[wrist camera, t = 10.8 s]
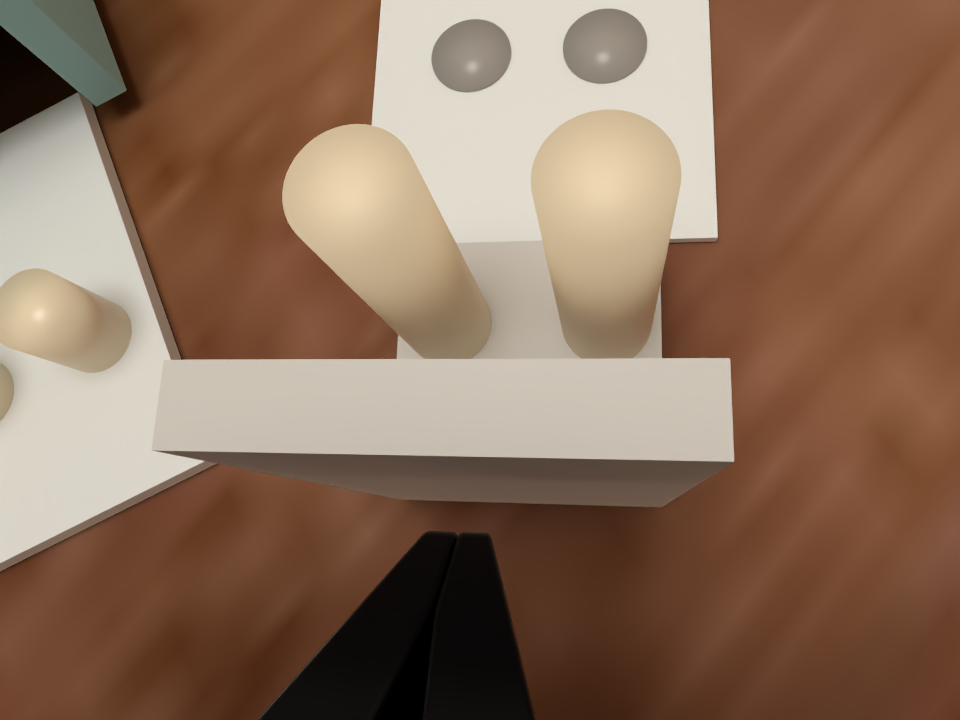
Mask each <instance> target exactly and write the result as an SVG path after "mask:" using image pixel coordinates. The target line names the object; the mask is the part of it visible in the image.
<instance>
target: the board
mask: <svg viewBox="0 0 960 720" xmlns="http://www.w3.org/2000/svg"><path fill="white" fill-rule="evenodd" d="M164 360H181V357H180V354H179V351H178V348H177V345H176V343H175V340H174V337H173V334H172V331H171V328H170V325H169V323H168V320H167V317H166V314H165V311H164V308H163V305H162V303H161V300H160V297H159V294H158V291H157V288H156V285H155V283H154V280H153V277H152V274H151V271H150V268H149V266H148V263H147V260H146V257H145V254H144V251H143V248H142V246H141V243H140V240H139V237H138V234H137V231H136V228H135V226H134V223H133V220H132V217H131V214H130V211H129V208H128V206H127V203H126V200H125V197H124V194H123V191H122V189H121V186H120V183H119V180H118V177H117V174H116V171H115V169H114V166H113V163H112V160H111V157H110V154H109V151H108V149H107V146H106V143H105V140H104V137H103V134H102V131H101V129H100V126H99V123H98V120H97V117H96V114H95V112H94V109H93V106H92V103H90V102H89V101H88V100H87V99H86V98H85V97H83V96H82V95H81V94H80V93H79V92H78V93H76V94H74V95H72V96H70V97H68V98H66V99H64V100H62V101H61V102H59V103H57V104H55V105H53V106H51V107H49V108H47V109H45V110H44V111H42V112H40V113H38V114H36V115H34V116H32V117H30V118H28V119H27V120H25V121H23V122H21V123H19V124H17V125H15V126H13V127H11V128H10V129H8V130H6V131H4V132H2V133H0V571H2V570H4V569H6V568H8V567H10V566H12V565H14V564H16V563H18V562H20V561H22V560H24V559H26V558H28V557H30V556H32V555H34V554H36V553H38V552H40V551H42V550H44V549H46V548H48V547H50V546H52V545H54V544H56V543H58V542H60V541H62V540H64V539H66V538H68V537H70V536H72V535H74V534H76V533H78V532H80V531H82V530H85V529H87V528H89V527H91V526H93V525H95V524H97V523H99V522H101V521H103V520H105V519H107V518H109V517H111V516H113V515H115V514H117V513H119V512H121V511H123V510H125V509H127V508H129V507H131V506H133V505H135V504H137V503H139V502H141V501H143V500H145V499H147V498H149V497H151V496H153V495H155V494H157V493H159V492H161V491H163V490H165V489H167V488H169V487H171V486H173V485H175V484H177V483H179V482H181V481H183V480H185V479H187V478H189V477H191V476H193V475H195V474H197V473H199V472H201V471H203V470H205V469H207V468H209V467H211V466H213V465H215V464H217V463H212V462H207V461H202V460H197V459H192V458H187V457H182V456H177V455H172V454H167V453H162V452H157V451H152V443H153V435H154V428H155V421H156V413H157V406H158V399H159V391H160V384H161V377H162V369H163V362H164Z"/></svg>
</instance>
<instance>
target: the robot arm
mask: <svg viewBox="0 0 960 720" xmlns="http://www.w3.org/2000/svg"><path fill="white" fill-rule="evenodd" d="M258 720H536V717H535V712H534V708H533V704H532V700H531V696H530V692H529V688H528V684H527V680H526V676H525V672H524V668H523V664H522V660H521V656H520V651H519V647H518V643H517V639H516V635H515V631H514V627H513V623H512V619H511V615H510V611H509V607H508V603H507V599H506V595H505V590H504V586H503V582H502V578H501V574H500V570H499V566H498V562H497V558H496V554H495V550H494V546H493V542H492V538H491V536H490V535H489V534H488V533H471V532H462V533H461V534H459V535H457V534H456V533H454V532H443V531H428V532H426V533H424V534H423V535H422V536H421V537H420V538H419V539H418V540H417V542H416V543H415V544H414V545H413V546H412V547H411V548H410V549H409V551H408V552H407V553H406V554H405V555H404V556H403V557H402V558H401V560H400V561H399V562H398V563H397V564H396V565H395V566H394V567H393V569H392V570H391V571H390V572H389V573H388V574H387V575H386V576H385V577H384V579H383V580H382V581H381V582H380V583H379V584H378V585H377V586H376V588H375V589H374V590H373V591H372V592H371V593H370V594H369V595H368V597H367V598H366V599H365V600H364V601H363V602H362V603H361V604H360V605H359V607H358V608H357V609H356V610H355V611H354V612H353V613H352V614H351V616H350V617H349V618H348V619H347V620H346V621H345V622H344V623H343V625H342V626H341V627H340V628H339V629H338V630H337V631H336V632H335V633H334V635H333V636H332V637H331V638H330V639H329V640H328V641H327V642H326V644H325V645H324V646H323V647H322V648H321V649H320V650H319V651H318V653H317V654H316V655H315V656H314V657H313V658H312V659H311V660H310V661H309V663H308V664H307V665H306V666H305V667H304V668H303V669H302V670H301V672H300V673H299V674H298V675H297V676H296V677H295V678H294V679H293V681H292V682H291V683H290V684H289V685H288V686H287V687H286V688H285V689H284V691H283V692H282V693H281V694H280V695H279V696H278V697H277V698H276V700H275V701H274V702H273V703H272V704H271V705H270V706H269V707H268V709H267V710H266V711H265V712H264V713H263V714H262V715H261V716H260V718H259V719H258Z"/></svg>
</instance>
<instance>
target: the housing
mask: <svg viewBox="0 0 960 720" xmlns="http://www.w3.org/2000/svg"><path fill="white" fill-rule="evenodd" d="M0 26H2V27H3V28H4V29H5V30H6V31H8V32H9V33H10V34H11V35H12V36H13V37H15V38H16V39H17V40H18V41H19V42H20V43H22V44H23V45H24V46H25V47H26V48H28V49H29V50H30V51H31V52H32V53H33V54H35V55H36V56H37V57H38V58H39V59H41V60H42V61H43V62H44V63H45V64H46V65H48V66H49V67H50V68H51V69H52V70H54V71H55V72H56V73H57V74H58V75H59V76H61V77H62V78H63V79H64V80H65V81H66V82H68V83H69V84H70V85H71V86H72V87H74V88H75V89H76V90H77V91H78V92H79V93H81V94H82V95H83V96H84V97H85V98H87V99H88V100H89V101H90V102H91V103H92V104H94V105H95V106H96V107H97V106H99V105H100V104H102V103H104V102H106V101H108V100H110V99H112V98H114V97H116V96H118V95H119V94H121V93H123V92H125V91H127V90H126V87H125V84H124V82H123V79H122V76H121V74H120V71H119V68H118V66H117V63H116V60H115V57H114V55H113V52H112V49H111V47H110V44H109V41H108V39H107V36H106V33H105V30H104V28H103V25H102V22H101V20H100V17H99V14H98V12H97V9H96V6H95V3H94V1H93V0H0Z"/></svg>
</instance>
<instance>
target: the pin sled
mask: <svg viewBox="0 0 960 720" xmlns="http://www.w3.org/2000/svg"><path fill="white" fill-rule="evenodd" d="M681 175H682V172H681V163H680V159H679V155H678V153H677V150H676V148H675V146H674V144H673V143H672V141H671V139H670V138H669V137H668V136H667V134H666V133H665V132H664V131H663V130H662V129H661V128H660V127H659V126H657V125H656V124H655V123H653V122H652V121H650V120H648V119H646V118H645V117H643V116H640V115H638V114H635V113H632V112H628V111H623V110H596V111H591V112H587V113H584V114H581V115H578V116H576V117H574V118H572V119H570V120H568V121H566V122H565V123H563V124H562V125H560V126H559V127H558V128H557V129H555V130H554V131H553V132H552V133H551V134H550V135H549V136H548V137H547V138H546V140H545V141H544V142H543V144H542V145H541V147H540V149H539V151H538V152H537V154H536V157H535V160H534V162H533V166H532V171H531V190H532V195H533V200H534V205H535V209H536V214H537V218H538V223H539V227H540V232H541V236H542V240H540V241H507V242H473V243H456V242H455V240H454V238H453V236H452V234H451V232H450V230H449V228H448V226H447V224H446V222H445V220H444V218H443V217H442V215H441V213H440V211H439V209H438V207H437V205H436V203H435V201H434V199H433V197H432V195H431V193H430V191H429V189H428V187H427V185H426V183H425V181H424V179H423V177H422V175H421V174H420V172H419V170H418V168H417V166H416V164H415V162H414V160H413V158H412V156H411V154H410V152H409V151H408V149H407V148H406V146H405V145H404V144H403V143H402V142H401V141H400V140H399V139H398V138H397V137H396V136H394V135H393V134H391V133H390V132H388V131H386V130H384V129H382V128H379V127H376V126H372V125H365V124H351V125H344V126H340V127H336V128H333V129H331V130H328V131H326V132H324V133H322V134H320V135H319V136H317V137H316V138H314V139H313V140H311V141H310V142H309V143H308V144H307V145H306V146H305V147H304V148H303V149H302V150H301V151H300V152H299V153H298V154H297V156H296V157H295V158H294V160H293V162H292V163H291V165H290V167H289V169H288V172H287V174H286V177H285V180H284V185H283V194H282V200H283V208H284V212H285V216H286V218H287V221H288V223H289V224H290V226H291V228H292V229H293V231H294V232H295V233H296V234H297V235H298V236H299V237H300V238H301V239H302V240H303V241H304V242H305V243H306V244H307V245H308V246H309V247H310V248H311V249H312V250H313V251H314V252H315V253H316V254H317V255H318V256H319V257H320V258H321V259H322V260H323V261H324V262H325V263H326V264H327V265H328V266H329V267H330V268H331V269H332V270H333V271H334V272H335V273H336V274H337V275H338V276H339V277H340V278H341V279H342V280H343V281H344V282H345V283H346V284H347V285H348V286H349V287H350V288H351V289H352V290H354V291H355V292H356V293H357V294H358V295H359V296H360V297H361V298H362V299H363V300H364V301H365V302H366V303H367V304H368V305H369V306H370V307H371V308H372V309H373V310H374V311H375V312H376V313H377V314H378V315H379V316H380V317H381V318H382V319H383V320H384V321H385V322H386V323H387V324H388V325H389V326H390V327H391V328H392V329H393V330H394V331H395V332H396V333H397V334H398V347H397V359H276V360H164V362H163V369H162V377H161V384H160V391H159V399H158V406H157V413H156V421H155V428H154V435H153V443H152V451H157V452H162V453H167V454H172V455H177V456H182V457H187V458H192V459H197V460H202V461H207V462H212V463H217V464H222V465H227V466H232V467H238V468H243V469H248V470H253V471H258V472H263V473H268V474H273V475H278V476H283V477H288V478H293V479H298V480H303V481H308V482H313V483H318V484H323V485H328V486H333V487H339V488H344V489H349V490H354V491H359V492H364V493H369V494H374V495H379V496H384V497H389V498H394V499H399V500H428V501H462V502H496V503H529V504H563V505H597V506H631V507H663V506H665V505H666V504H668V503H669V502H671V501H673V500H674V499H676V498H677V497H679V496H681V495H682V494H684V493H685V492H687V491H689V490H690V489H692V488H693V487H695V486H696V485H698V484H700V483H701V482H703V481H704V480H706V479H708V478H709V477H711V476H712V475H714V474H715V473H717V472H719V471H720V470H722V469H723V468H725V467H727V466H728V465H730V464H731V463H733V462H734V444H733V419H732V395H731V371H730V358H662V332H661V279H662V274H663V269H664V265H665V260H666V255H667V250H668V245H669V240H670V235H671V230H672V225H673V220H674V215H675V210H676V205H677V200H678V196H679V191H680V185H681Z"/></svg>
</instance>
